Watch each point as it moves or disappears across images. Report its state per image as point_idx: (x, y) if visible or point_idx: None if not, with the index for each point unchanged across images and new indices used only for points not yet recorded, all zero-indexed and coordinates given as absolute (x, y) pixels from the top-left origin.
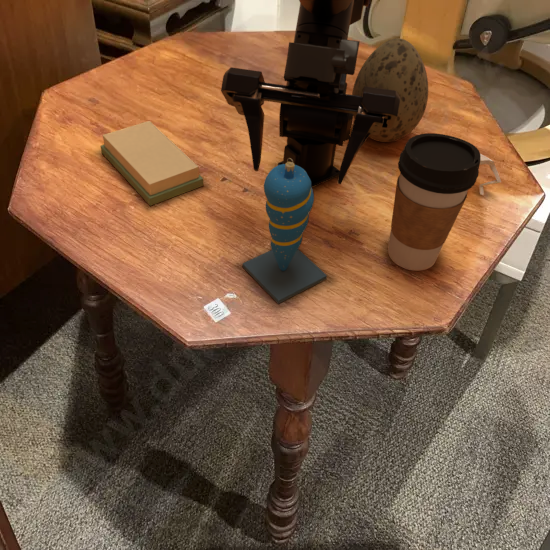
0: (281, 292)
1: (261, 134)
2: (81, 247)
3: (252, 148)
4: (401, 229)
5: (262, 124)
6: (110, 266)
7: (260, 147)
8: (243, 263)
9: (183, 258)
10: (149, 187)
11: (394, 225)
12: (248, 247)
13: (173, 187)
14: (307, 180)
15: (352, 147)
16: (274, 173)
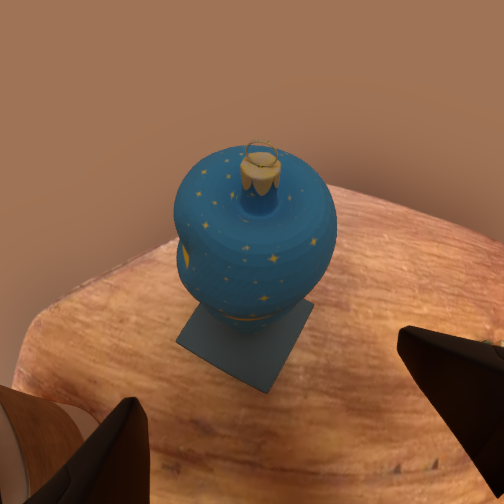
0: None
1: (472, 419)
2: (472, 241)
3: (457, 340)
4: (50, 409)
5: (490, 453)
6: (436, 230)
7: (444, 383)
8: (312, 303)
9: (390, 280)
10: (498, 341)
11: (67, 428)
12: (327, 352)
13: None
14: (182, 193)
15: (69, 477)
16: (304, 169)
